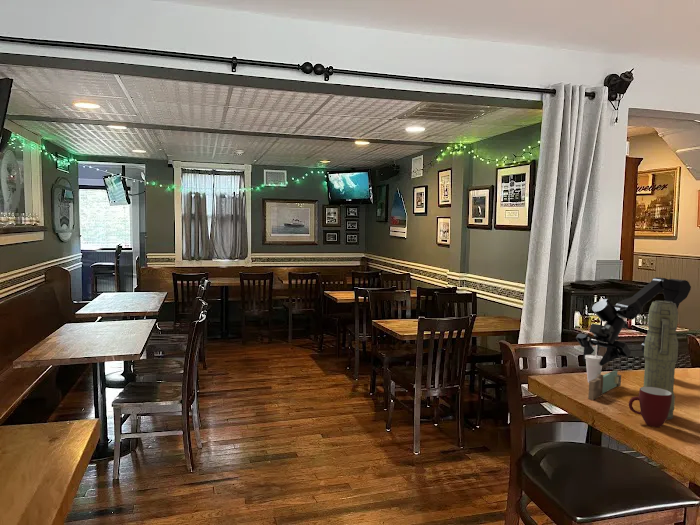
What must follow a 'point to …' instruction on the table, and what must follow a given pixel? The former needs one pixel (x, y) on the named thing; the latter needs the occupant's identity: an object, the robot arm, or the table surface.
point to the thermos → (661, 348)
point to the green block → (610, 381)
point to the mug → (653, 405)
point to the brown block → (598, 386)
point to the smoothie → (593, 365)
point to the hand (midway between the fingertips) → (591, 362)
